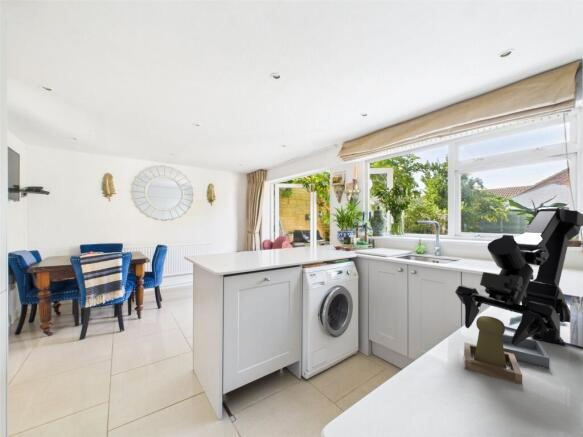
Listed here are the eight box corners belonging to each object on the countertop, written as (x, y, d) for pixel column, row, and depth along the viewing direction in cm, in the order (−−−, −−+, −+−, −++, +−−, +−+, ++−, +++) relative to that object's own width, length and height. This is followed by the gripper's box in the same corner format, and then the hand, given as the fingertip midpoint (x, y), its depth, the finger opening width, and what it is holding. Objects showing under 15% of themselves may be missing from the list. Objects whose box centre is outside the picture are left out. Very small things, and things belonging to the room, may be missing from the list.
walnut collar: (464, 350, 64) (464, 342, 64) (513, 362, 59) (513, 353, 59) (465, 368, 56) (465, 360, 56) (522, 384, 51) (522, 375, 51)
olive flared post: (513, 375, 54) (514, 324, 54) (482, 371, 55) (482, 322, 55) (497, 359, 60) (497, 314, 60) (468, 357, 61) (469, 312, 61)
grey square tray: (490, 340, 70) (490, 331, 70) (538, 350, 64) (538, 340, 64) (494, 356, 62) (494, 345, 62) (549, 369, 56) (549, 358, 56)
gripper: (459, 255, 68) (433, 301, 63) (555, 267, 51) (530, 331, 46) (475, 281, 72) (451, 326, 67) (569, 300, 55) (547, 363, 50)
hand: (488, 335), depth 57 cm, fingers open, 9 cm apart
